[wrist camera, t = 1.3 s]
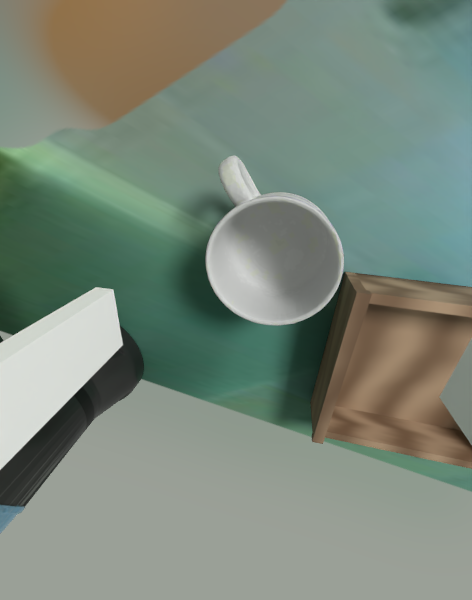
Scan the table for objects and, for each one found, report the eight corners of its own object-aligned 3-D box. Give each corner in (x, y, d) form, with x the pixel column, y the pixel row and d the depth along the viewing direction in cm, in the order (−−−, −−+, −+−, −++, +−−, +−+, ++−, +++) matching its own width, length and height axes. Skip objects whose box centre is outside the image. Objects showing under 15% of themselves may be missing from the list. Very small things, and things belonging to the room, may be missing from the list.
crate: (309, 403, 36) (312, 441, 30) (344, 269, 27) (356, 292, 22) (473, 435, 33) (506, 484, 27) (572, 297, 24) (648, 330, 19)
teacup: (336, 281, 28) (351, 319, 21) (240, 298, 31) (224, 336, 24) (316, 135, 22) (327, 117, 15) (203, 173, 26) (169, 173, 18)
